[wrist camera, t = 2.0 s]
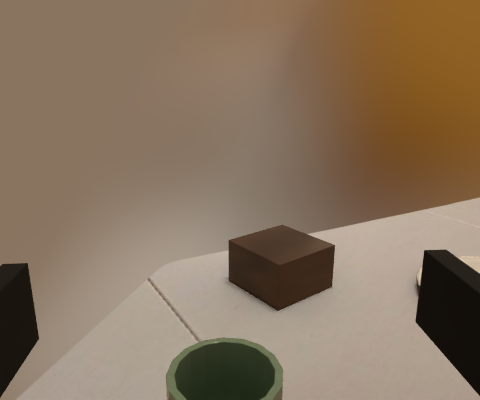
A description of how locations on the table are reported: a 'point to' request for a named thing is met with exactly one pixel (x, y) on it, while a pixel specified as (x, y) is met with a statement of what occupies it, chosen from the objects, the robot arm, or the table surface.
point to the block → (281, 265)
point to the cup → (225, 372)
